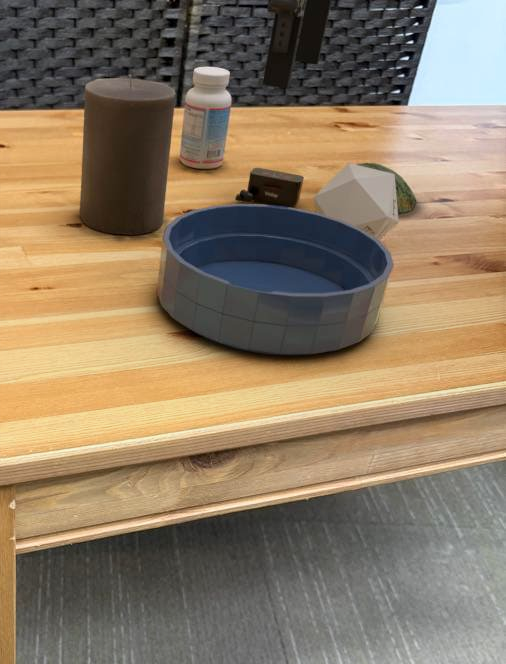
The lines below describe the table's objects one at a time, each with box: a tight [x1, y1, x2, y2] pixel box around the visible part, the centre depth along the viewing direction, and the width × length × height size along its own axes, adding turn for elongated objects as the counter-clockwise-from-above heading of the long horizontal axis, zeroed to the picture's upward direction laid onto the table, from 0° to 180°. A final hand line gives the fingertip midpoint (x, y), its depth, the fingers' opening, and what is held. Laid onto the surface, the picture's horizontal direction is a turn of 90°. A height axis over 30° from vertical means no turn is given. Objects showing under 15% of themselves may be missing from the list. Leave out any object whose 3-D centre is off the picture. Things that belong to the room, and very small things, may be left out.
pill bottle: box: [179, 66, 232, 170], centre depth 108 cm, size 6×6×11 cm
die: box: [313, 162, 399, 241], centre depth 90 cm, size 8×9×10 cm
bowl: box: [156, 203, 395, 356], centre depth 78 cm, size 21×21×6 cm
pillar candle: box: [79, 74, 176, 236], centre depth 89 cm, size 10×10×15 cm
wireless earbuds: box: [234, 167, 305, 208], centre depth 100 cm, size 5×7×3 cm, turn 67°
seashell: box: [356, 162, 417, 214], centre depth 103 cm, size 10×4×10 cm
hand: (291, 74), depth 92 cm, fingers open, 13 cm apart
